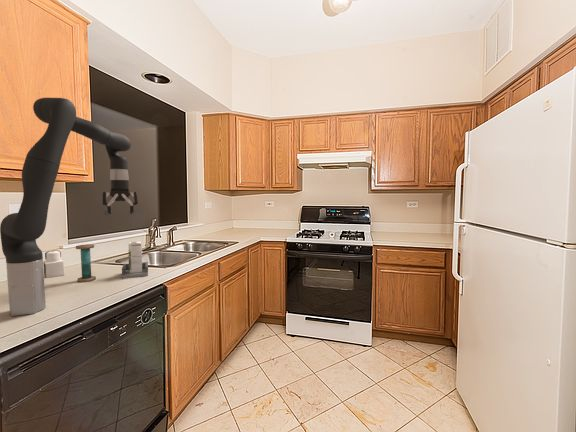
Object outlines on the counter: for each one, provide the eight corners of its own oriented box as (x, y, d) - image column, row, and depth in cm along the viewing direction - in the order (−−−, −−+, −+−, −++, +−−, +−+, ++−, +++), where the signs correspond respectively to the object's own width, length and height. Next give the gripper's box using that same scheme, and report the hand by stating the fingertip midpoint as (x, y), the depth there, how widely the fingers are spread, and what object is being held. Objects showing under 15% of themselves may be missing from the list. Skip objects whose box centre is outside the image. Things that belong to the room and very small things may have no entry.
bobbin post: (94, 281, 134) (92, 246, 133) (75, 283, 131) (74, 247, 130) (97, 277, 141) (95, 243, 139) (79, 278, 138) (77, 245, 137)
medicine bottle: (44, 275, 144) (42, 251, 143) (62, 272, 149) (61, 249, 148) (45, 278, 139) (44, 253, 138) (64, 275, 144) (63, 251, 143)
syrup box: (129, 270, 146) (127, 241, 145) (142, 269, 149) (141, 241, 148) (129, 273, 141) (127, 243, 140) (142, 272, 144) (141, 242, 143)
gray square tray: (147, 276, 143) (147, 266, 142) (121, 278, 138) (121, 269, 138) (148, 270, 153) (147, 262, 152) (124, 273, 148) (123, 264, 148)
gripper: (100, 178, 132) (102, 215, 133) (136, 179, 137) (137, 214, 139) (103, 179, 138) (104, 214, 140) (137, 180, 144) (138, 213, 145)
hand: (121, 214), depth 139 cm, fingers open, 8 cm apart
